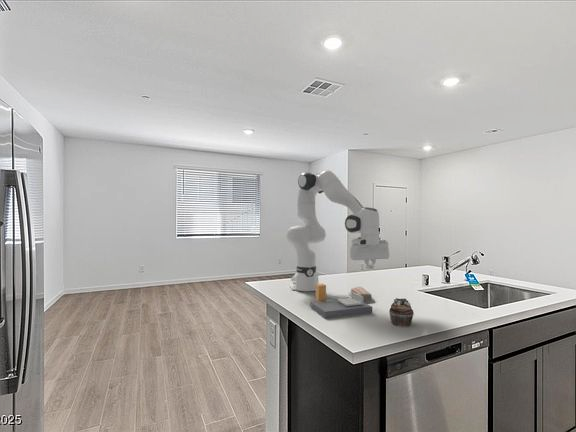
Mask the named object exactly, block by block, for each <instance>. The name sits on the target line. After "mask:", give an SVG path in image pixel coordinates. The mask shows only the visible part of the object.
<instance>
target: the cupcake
mask: <svg viewBox="0 0 576 432" xmlns="http://www.w3.org/2000/svg"><path fill="white" fill-rule="evenodd" d="M388 312H389V317H390V323H391V324H392V325H394V326H397V327H402V328H404V327H405V328H407V327H411V325H412V323H413V317H414V316H415V315H414V314H415V313H414V310H413V308H412V305H411V303H410V302H409V300H407V298H397V297H396V298H394V299H393V302H392V303H391V304H390V308H389V311H388Z"/></svg>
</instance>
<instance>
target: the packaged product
mask: <svg viewBox="0 0 576 432" xmlns="http://www.w3.org/2000/svg"><path fill="white" fill-rule="evenodd" d="M352 292H354V293H357V294H359V295H361V296H363V297H364V303H375V302H376V300H375V299H374V297H372V294H371V293H370V292H369V291H367V290H366V289H365V288H364V287H363V286H356V287H353V288H351V289H350V292H348V293H347V294H348V295H349V296H350V298H352Z"/></svg>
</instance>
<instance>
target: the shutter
mask: <svg viewBox="0 0 576 432" xmlns="http://www.w3.org/2000/svg"><path fill="white" fill-rule="evenodd" d="M336 300H337V301H338V302H340V303H342V304H344V305H345V306H353V305H363V304H364V303H365V302H364V297H363V296H361V295H359V294H357V293H354V292H352V297H348V298H338V299H337V298H336Z"/></svg>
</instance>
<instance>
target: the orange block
mask: <svg viewBox="0 0 576 432" xmlns="http://www.w3.org/2000/svg"><path fill="white" fill-rule="evenodd" d="M326 300H327V285H326V284H324V283H319V284H316V291H315V301H326Z"/></svg>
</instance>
